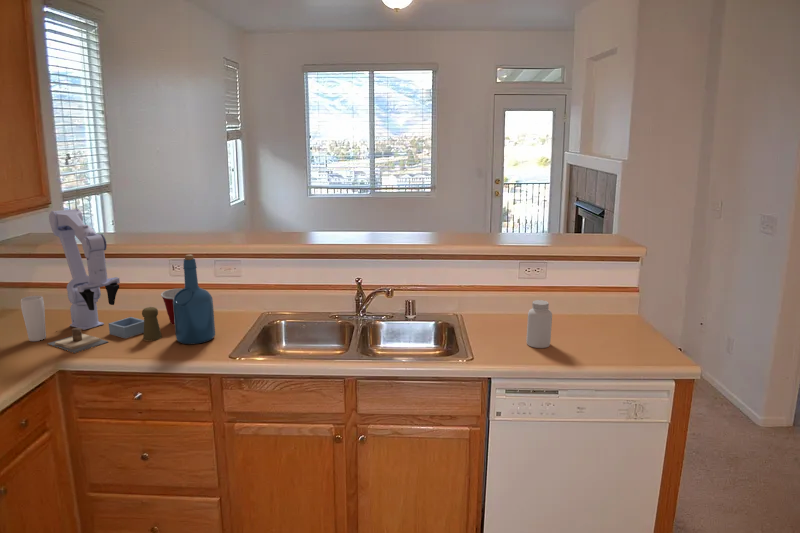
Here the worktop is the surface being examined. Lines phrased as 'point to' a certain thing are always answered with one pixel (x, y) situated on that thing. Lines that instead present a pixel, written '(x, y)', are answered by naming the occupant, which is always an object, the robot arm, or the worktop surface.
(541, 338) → the pill bottle
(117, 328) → the dish
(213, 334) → the wine bottle
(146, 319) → the olive green shaker
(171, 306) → the plastic cup
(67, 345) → the lid
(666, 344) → the worktop surface
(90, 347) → the mat
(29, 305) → the drinking glass
